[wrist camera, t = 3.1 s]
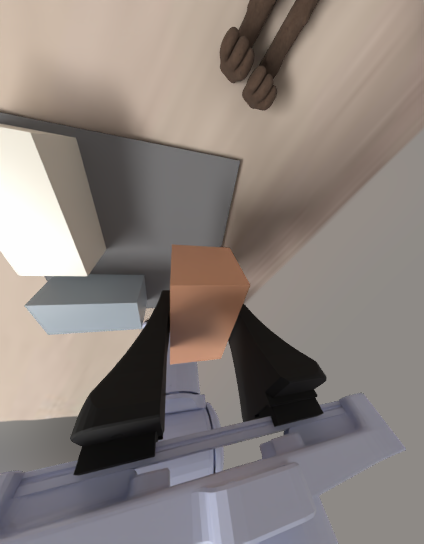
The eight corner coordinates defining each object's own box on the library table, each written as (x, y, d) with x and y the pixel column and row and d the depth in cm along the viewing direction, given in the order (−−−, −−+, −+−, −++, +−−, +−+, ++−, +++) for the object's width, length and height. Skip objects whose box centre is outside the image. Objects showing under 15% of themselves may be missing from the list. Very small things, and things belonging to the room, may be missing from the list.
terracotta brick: (212, 317, 16) (220, 358, 13) (171, 320, 15) (169, 364, 12) (229, 247, 11) (250, 285, 8) (171, 244, 10) (170, 285, 7)
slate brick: (144, 274, 17) (137, 302, 14) (147, 300, 19) (141, 328, 16) (55, 273, 15) (24, 305, 12) (70, 301, 17) (48, 334, 14)
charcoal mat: (208, 304, 22) (208, 306, 22) (66, 308, 18) (65, 310, 18) (238, 160, 12) (240, 160, 12) (-57, 101, 8) (-64, 99, 8)
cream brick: (106, 249, 15) (87, 276, 11) (54, 246, 14) (18, 275, 10) (76, 137, 10) (30, 132, 7) (-7, 122, 9) (-105, 107, 6)
